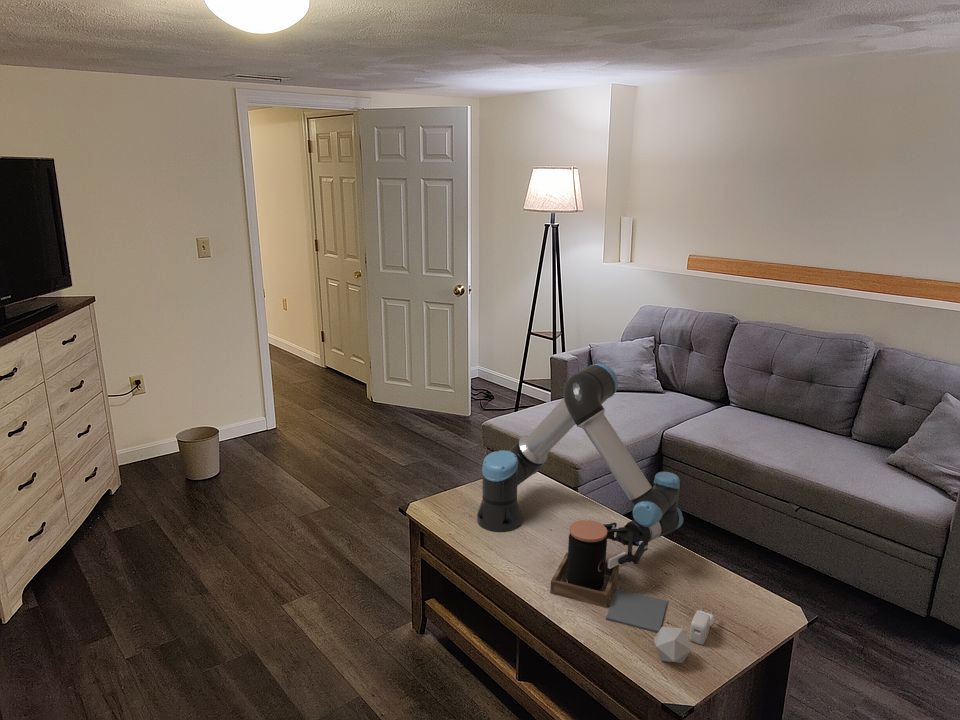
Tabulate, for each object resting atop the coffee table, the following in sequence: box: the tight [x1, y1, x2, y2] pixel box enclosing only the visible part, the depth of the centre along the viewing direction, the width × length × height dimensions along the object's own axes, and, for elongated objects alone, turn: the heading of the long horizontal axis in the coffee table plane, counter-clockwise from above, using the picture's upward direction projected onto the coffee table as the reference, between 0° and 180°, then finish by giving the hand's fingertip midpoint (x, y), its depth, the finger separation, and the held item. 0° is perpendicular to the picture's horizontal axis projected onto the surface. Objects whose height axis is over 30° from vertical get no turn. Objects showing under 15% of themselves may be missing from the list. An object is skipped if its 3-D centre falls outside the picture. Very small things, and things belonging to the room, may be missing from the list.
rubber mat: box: [605, 588, 668, 634], centre depth 185 cm, size 14×14×1 cm
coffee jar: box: [566, 519, 608, 591], centre depth 193 cm, size 11×11×18 cm
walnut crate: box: [549, 551, 620, 608], centre depth 195 cm, size 16×16×4 cm
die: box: [653, 626, 692, 664], centre depth 166 cm, size 8×9×10 cm
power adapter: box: [689, 606, 716, 646], centre depth 176 cm, size 11×5×6 cm, turn 148°
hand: (591, 552), depth 193 cm, fingers open, 13 cm apart
